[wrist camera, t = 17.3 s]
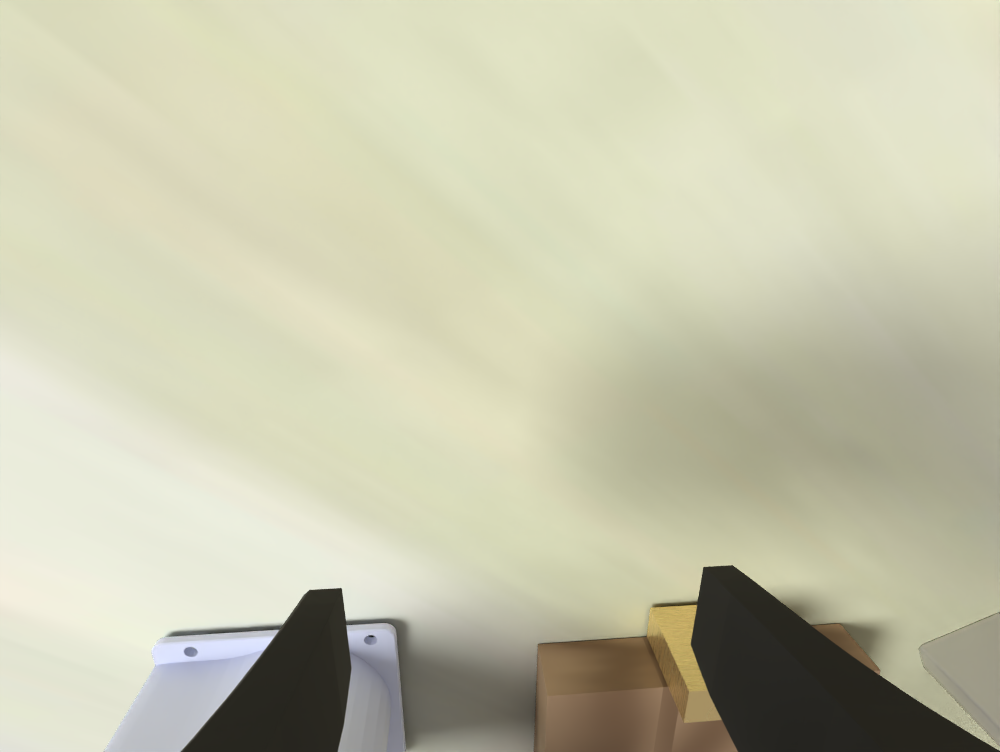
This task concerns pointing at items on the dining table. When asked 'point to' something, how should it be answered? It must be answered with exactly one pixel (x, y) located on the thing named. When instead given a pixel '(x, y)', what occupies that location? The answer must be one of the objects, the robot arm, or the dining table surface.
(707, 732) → the socket block
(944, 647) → the lighter
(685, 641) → the light wooden block
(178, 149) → the dining table surface
